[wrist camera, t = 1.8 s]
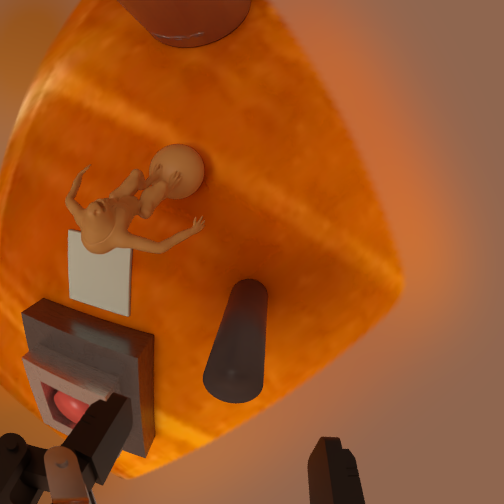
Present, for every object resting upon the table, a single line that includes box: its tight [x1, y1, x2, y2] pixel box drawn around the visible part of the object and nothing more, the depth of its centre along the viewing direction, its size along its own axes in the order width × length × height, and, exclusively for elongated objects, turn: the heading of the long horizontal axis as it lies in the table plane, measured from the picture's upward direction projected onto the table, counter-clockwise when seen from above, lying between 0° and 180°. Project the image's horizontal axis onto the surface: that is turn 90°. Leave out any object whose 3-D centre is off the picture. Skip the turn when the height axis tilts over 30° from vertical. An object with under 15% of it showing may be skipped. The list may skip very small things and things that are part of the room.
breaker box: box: [21, 298, 155, 458], centre depth 25 cm, size 16×14×7 cm
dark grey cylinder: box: [203, 279, 268, 403], centre depth 19 cm, size 3×3×11 cm
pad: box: [68, 229, 132, 317], centre depth 25 cm, size 7×7×1 cm
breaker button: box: [54, 391, 89, 424], centre depth 24 cm, size 4×4×4 cm
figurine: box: [65, 144, 205, 254], centre depth 16 cm, size 8×6×12 cm
